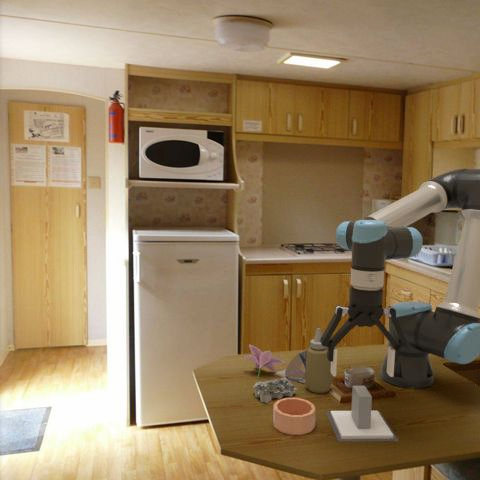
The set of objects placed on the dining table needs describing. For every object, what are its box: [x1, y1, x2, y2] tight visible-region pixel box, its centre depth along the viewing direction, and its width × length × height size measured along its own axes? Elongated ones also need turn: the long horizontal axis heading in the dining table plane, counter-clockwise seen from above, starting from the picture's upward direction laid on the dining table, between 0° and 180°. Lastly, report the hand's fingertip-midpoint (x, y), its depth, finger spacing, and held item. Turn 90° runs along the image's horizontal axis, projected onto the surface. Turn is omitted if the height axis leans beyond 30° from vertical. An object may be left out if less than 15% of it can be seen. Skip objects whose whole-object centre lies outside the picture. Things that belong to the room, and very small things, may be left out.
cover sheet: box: [330, 385, 394, 439], centre depth 120 cm, size 12×12×9 cm
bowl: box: [272, 397, 316, 436], centre depth 121 cm, size 10×10×5 cm
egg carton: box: [252, 376, 298, 404], centre depth 137 cm, size 11×8×4 cm
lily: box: [243, 344, 286, 381], centre depth 151 cm, size 12×12×10 cm
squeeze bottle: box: [303, 327, 334, 394], centre depth 140 cm, size 8×8×18 cm
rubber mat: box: [325, 411, 400, 443], centre depth 121 cm, size 14×14×1 cm
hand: (361, 374), depth 119 cm, fingers open, 13 cm apart
